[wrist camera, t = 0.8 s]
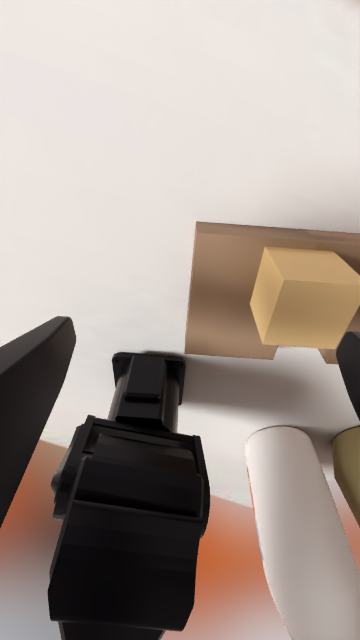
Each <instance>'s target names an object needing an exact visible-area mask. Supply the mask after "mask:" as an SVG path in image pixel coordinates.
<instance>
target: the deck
mask: <svg viewBox="0 0 360 640" xmlns="http://www.w3.org/2000/svg"><path fill="white" fill-rule="evenodd" d="M265 246H267V247H281V248H295V249H309V250H323V251H334V252H335V253H336V254H337V255H338V256H339V257H340V258H341V259H342V260H344V261H345V262H346V263H347V264H348V265H349V266H350V267H351V268H352V269H353V270H354V271H355V272H356V273H357V274H359V275H360V234H356V233H343V232H329V231H315V230H302V229H288V228H274V227H260V226H247V225H233V224H219V223H206V222H196V229H195V240H194V250H193V261H192V271H191V282H190V292H189V302H188V313H187V323H186V334H185V354H195V355H210V356H224V357H239V358H253V359H268V360H273V358H274V355H275V353H276V350H277V347H278V345H264V344H262V341H261V338H260V335H259V332H258V328H257V325H256V322H255V319H254V316H253V313H252V309H251V306H250V301H251V298H252V294H253V290H254V286H255V282H256V278H257V275H258V271H259V267H260V263H261V259H262V256H263V252H264V248H265ZM348 331H358V332H360V306H359V307H358V309H357V311H356V313H355V315H354V316H353V318H352V320H351V322H350V323H349V325H348V327H347V329H346V331H345V332H344V334H345V333H346V332H348ZM344 334H343V336H344ZM343 336H342V338H343ZM342 338H341V339H340V341H339V343H338V345H337V347H336V348H335V349H322V348H318V350H319V351H320V353H321V355H322V357H323V359H324V360H325V362H326V364H338V361H337V358H336V350H337V348H338V346H339V344H340V342H341V340H342Z"/></svg>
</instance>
